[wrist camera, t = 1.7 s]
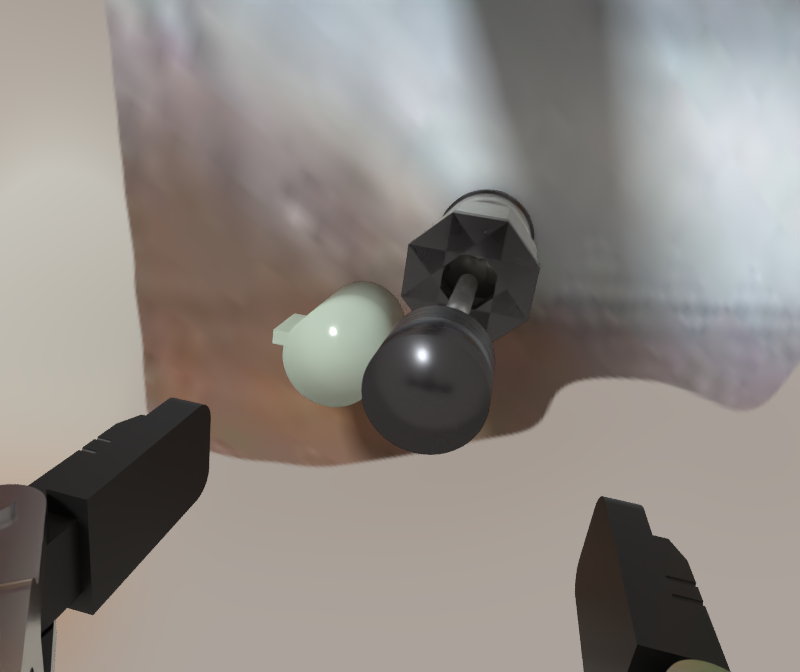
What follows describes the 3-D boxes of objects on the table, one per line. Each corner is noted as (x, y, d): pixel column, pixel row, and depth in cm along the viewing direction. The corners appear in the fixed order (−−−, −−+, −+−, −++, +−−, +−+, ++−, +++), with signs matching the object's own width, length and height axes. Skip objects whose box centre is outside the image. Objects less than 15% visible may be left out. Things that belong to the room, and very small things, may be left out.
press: (446, 182, 42) (411, 202, 29) (543, 197, 41) (552, 225, 28) (427, 299, 45) (388, 365, 32) (517, 316, 44) (514, 392, 31)
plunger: (438, 241, 29) (369, 323, 16) (511, 254, 28) (501, 349, 15) (426, 311, 30) (354, 439, 17) (497, 324, 29) (477, 467, 17)
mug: (310, 270, 46) (262, 300, 37) (410, 289, 45) (384, 324, 36) (303, 346, 48) (256, 390, 40) (398, 366, 47) (371, 416, 38)
